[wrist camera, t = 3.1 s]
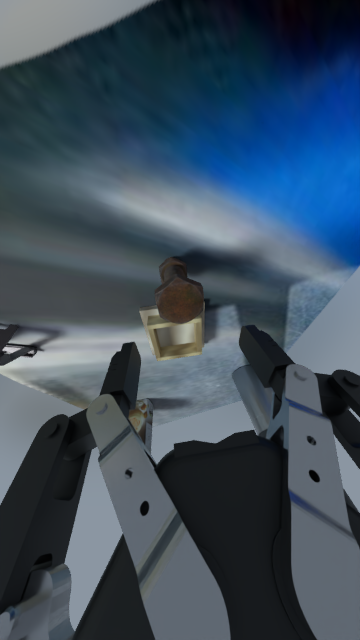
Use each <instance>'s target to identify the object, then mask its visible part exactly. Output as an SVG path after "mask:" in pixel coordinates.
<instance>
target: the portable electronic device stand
mask: <svg viewBox="0 0 360 640" xmlns="http://www.w3.org/2000/svg"><path fill="white" fill-rule="evenodd" d="M17 328H18V326H17V325H12V324H11V325H10V326H9V327H8V328H7V329H0V366H3V365H5V364H7V363H9V362H11V361H13V360H15V359H17V358H19V357H30V358H32V357H33V356H34V355H35V354H36V353H37V348H36V347H25V346H15V345H6V344H7V343H8V342H9V340H10V339H11V337H12V336H13V334H14V333H15V331H16V330H17ZM4 353H11V354H4Z"/></svg>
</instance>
